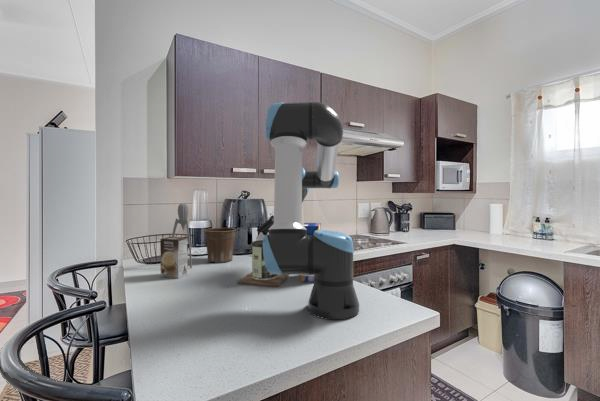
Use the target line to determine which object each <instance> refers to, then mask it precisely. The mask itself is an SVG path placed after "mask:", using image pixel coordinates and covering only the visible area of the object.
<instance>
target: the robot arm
mask: <svg viewBox="0 0 600 401" xmlns="http://www.w3.org/2000/svg"><path fill="white" fill-rule="evenodd" d="M343 135H344V127H343V123H342V121H341V118H340V117H339V115H338V114H337V112H336V111H335V110H334V108H331V106H329V105H327V104H326V103H323V102H320V101H310V102H309V101H307V102H306V101H305V102H304V101H303V102H302V101H301V102H299V101H297V102H295V101H293V102H286V101H282V102H274V103H272V104H270V106H269V107H268V109H267V113H266V119H265V137H266V139H267V140H269V141H270V145H271V146H272V147H273V148H274V151H275V152H274V186H273V187H274V193H273V194H274V196H273V215H271V216H270V217H269V219H267V220H266V221H265V222H264V223H263V224H261V226H259V227H258V228H257V229H256V232H258V233H257V236H256V239H255V241H260V240H263V256H264V262H265V266H266V269H267V271H268V272H269V273H271V274H281V275H289V276H290V275H292V276H294V275H296V276H299V275H300V276H301V275H314V282H313V284H312V285H313V286H312V289H311V291H310V294H309V298H308V301H307V305H308V307H307V308H308V309H309V310H308V311H310V312H311V313H310V312H309V313H310V314H311V315H313V314H314V315H313V316H315V315H316V316H315V317H317V316H319V317H318V318H321V317H323V318H322V319H325V318H327V319H326V320H335V319H338V320H346V318H347V319H351V318H353V316H354V317H356V316H357V315H358V314H359V313H360V302H359V299H358V295H357V292H356V289H355V286H354V252H355V250H354V242H353V238H352V237H351V236H350V235H349V234H346V233H342V232H338V231H333V230H327V229H326V230H324V229H321V230H316V231H314V233H313V235H307V229H306V228H305V227H304V226H303V202H304V200H305V199H306V197H307V195H308V193H309V190H310V189H337V188H338V187H339V182H340V180H339V178H340V176H339V172H338V171H337V170H336V167H337V158H338V152H339V151H338V150H339V144H340V143H341V141H342V140H343ZM308 140H315V142H316V143H317V145H316V146H317V151H316V152H317V156H316V157H317V159H316V160H317V161H316V170H314V171H313V170H312V171H311V170H307V171H306V170H305V168H304V167H303V149H304V148H305V147H306V146H307V145H308ZM358 312H359V313H358ZM355 315H356V316H355ZM350 317H351V318H350Z"/></svg>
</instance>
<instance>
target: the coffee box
mask: <svg viewBox="0 0 600 401" xmlns="http://www.w3.org/2000/svg"><path fill="white" fill-rule="evenodd" d="M159 240H160V243H159V244H160V277H161V278H169V279H181V278H184V277H186V276H188V237H180V236H174V237H172V236H168V237H163V238H160V239H159Z"/></svg>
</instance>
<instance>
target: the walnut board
mask: <svg viewBox="0 0 600 401" xmlns="http://www.w3.org/2000/svg"><path fill="white" fill-rule="evenodd" d="M277 275H278V277H277V278H275V279H272V280H255V279H253V278H252V271H251V272H250V273H248V274H246V275H245V276H243V277H242V278H240V279H239V280H238V281H237V285H247V286H248V285H249V286H260V287H272V288H278V287H279V286H280V285H281V284H282V283H283V282H284V281H285V280H286V279H287V278H288V277H289V276H290V275H281V274H277Z"/></svg>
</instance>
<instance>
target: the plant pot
mask: <svg viewBox="0 0 600 401" xmlns="http://www.w3.org/2000/svg"><path fill="white" fill-rule="evenodd" d="M236 231H237V228H234V227H212V228H210V227H209V228H204V229H203V232H204V237H205V242H206V243H205V244H206V251H207V252H206V254H207V261H208V262H209V263H213V262H214V263H215V264H222V263H228V262H231V261H233V254H234V243H235V237H236V233H237V232H236Z"/></svg>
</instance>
